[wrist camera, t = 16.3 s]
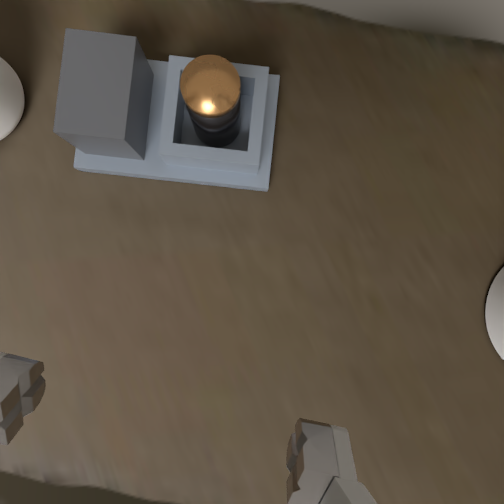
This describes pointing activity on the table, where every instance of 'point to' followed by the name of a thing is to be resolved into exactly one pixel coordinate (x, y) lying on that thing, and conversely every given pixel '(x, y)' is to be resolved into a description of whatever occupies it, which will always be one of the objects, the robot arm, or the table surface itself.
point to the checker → (156, 116)
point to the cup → (9, 99)
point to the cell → (212, 99)
